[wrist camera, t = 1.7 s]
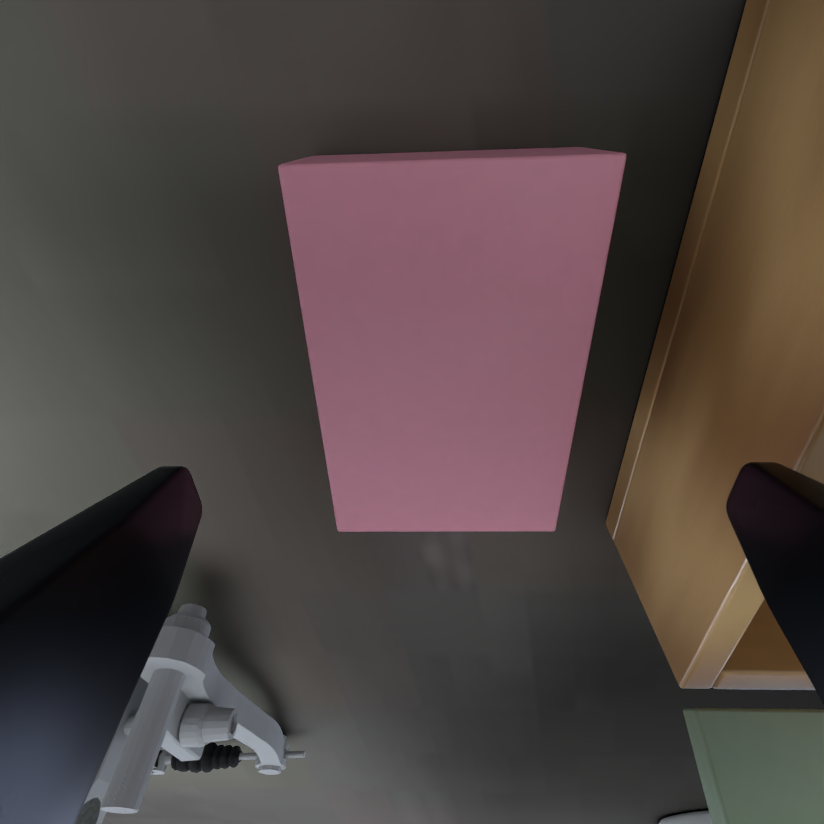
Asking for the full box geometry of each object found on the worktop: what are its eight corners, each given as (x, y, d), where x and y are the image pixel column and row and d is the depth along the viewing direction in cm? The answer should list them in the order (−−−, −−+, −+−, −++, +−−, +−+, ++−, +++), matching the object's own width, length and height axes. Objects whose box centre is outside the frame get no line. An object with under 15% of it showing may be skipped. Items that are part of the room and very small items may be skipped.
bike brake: (-117, 579, 17) (124, 736, 30) (-344, 821, 12) (65, 884, 25) (242, 572, 17) (329, 734, 30) (166, 819, 12) (312, 884, 25)
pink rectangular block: (580, 146, 10) (628, 152, 8) (535, 467, 15) (555, 532, 12) (311, 155, 10) (276, 164, 8) (350, 468, 15) (337, 532, 13)
